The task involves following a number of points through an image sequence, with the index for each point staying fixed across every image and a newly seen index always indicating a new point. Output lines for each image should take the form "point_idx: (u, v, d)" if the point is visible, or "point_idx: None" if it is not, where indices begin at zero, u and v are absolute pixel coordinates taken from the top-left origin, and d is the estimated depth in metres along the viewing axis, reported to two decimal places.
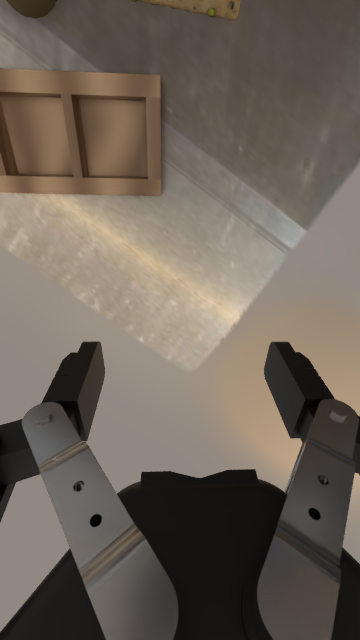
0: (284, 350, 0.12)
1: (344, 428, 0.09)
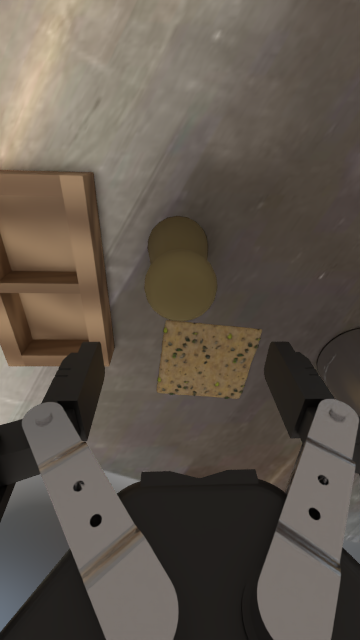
0: (284, 350, 0.12)
1: (344, 428, 0.09)
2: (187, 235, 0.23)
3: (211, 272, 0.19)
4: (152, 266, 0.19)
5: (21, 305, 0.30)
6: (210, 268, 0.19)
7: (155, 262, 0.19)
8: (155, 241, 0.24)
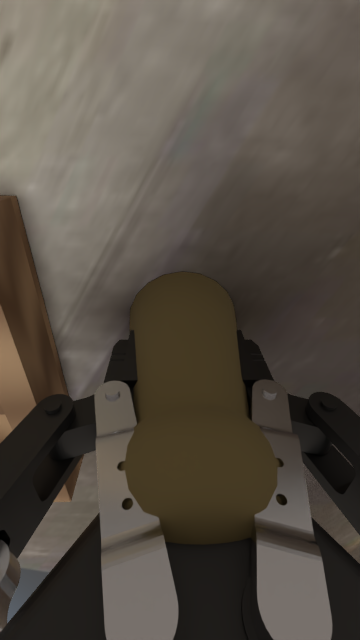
0: None
1: (271, 404, 0.09)
2: (205, 330, 0.11)
3: None
4: None
5: None
6: None
7: (130, 462, 0.07)
8: (140, 332, 0.12)
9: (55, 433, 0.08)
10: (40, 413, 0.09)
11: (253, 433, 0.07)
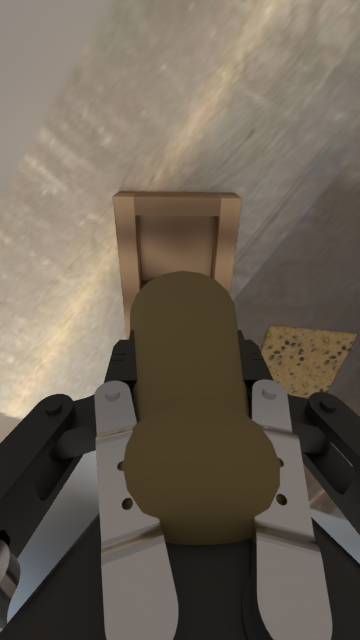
0: None
1: (271, 404, 0.09)
2: (206, 329, 0.11)
3: None
4: None
5: None
6: None
7: (130, 461, 0.07)
8: (140, 331, 0.12)
9: (55, 433, 0.08)
10: (40, 413, 0.09)
11: (254, 432, 0.07)
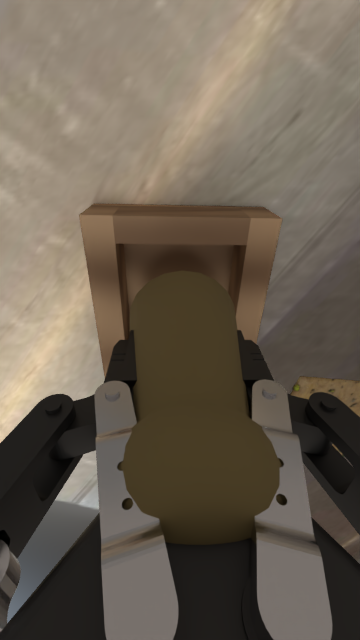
0: None
1: (271, 404, 0.09)
2: (206, 329, 0.11)
3: None
4: None
5: None
6: None
7: (129, 460, 0.07)
8: (140, 331, 0.12)
9: (55, 433, 0.08)
10: (40, 413, 0.09)
11: (253, 432, 0.07)
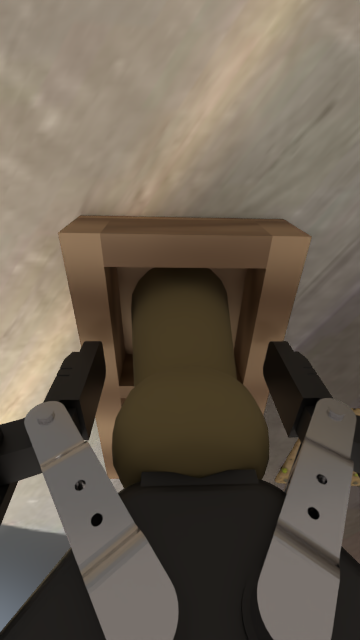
0: (282, 349, 0.12)
1: (342, 427, 0.09)
2: (199, 309, 0.12)
3: (262, 430, 0.08)
4: (127, 417, 0.08)
5: None
6: (259, 421, 0.08)
7: (134, 408, 0.08)
8: (141, 312, 0.14)
9: None
10: None
11: (237, 386, 0.09)
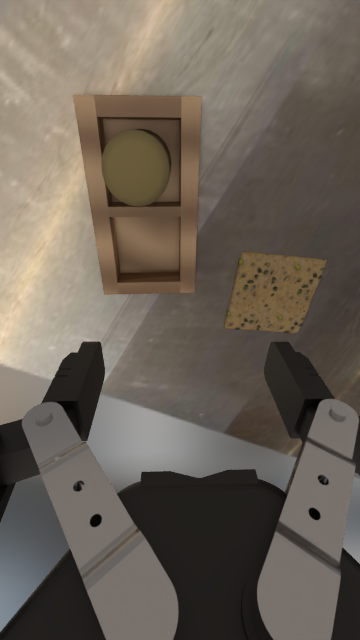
0: (284, 350, 0.12)
1: (344, 428, 0.09)
2: None
3: (162, 148, 0.20)
4: None
5: (116, 237, 0.33)
6: (161, 146, 0.20)
7: (109, 141, 0.20)
8: None
9: None
10: None
11: None
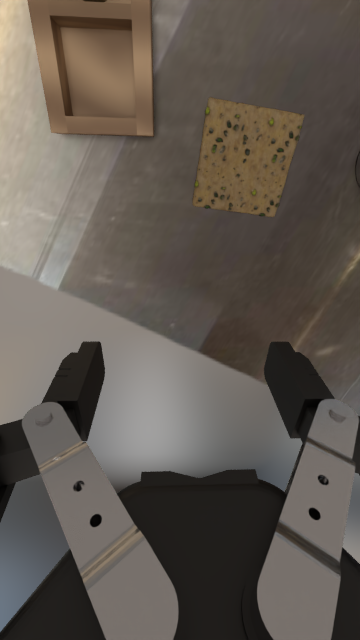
0: (284, 350, 0.12)
1: (344, 428, 0.09)
2: None
3: None
4: None
5: (65, 64, 0.29)
6: None
7: None
8: None
9: None
10: None
11: None
